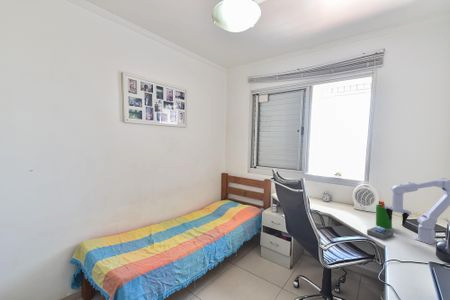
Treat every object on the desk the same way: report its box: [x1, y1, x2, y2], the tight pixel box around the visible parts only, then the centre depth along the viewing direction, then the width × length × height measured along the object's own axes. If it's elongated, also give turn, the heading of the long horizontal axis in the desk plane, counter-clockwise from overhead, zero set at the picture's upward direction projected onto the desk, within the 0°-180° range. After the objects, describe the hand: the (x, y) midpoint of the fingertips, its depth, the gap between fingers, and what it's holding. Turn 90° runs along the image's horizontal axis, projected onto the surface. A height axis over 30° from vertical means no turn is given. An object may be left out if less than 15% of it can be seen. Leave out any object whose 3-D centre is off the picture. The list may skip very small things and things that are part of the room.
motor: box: [375, 200, 393, 229], centre depth 157 cm, size 10×9×20 cm
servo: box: [374, 226, 386, 233], centre depth 142 cm, size 7×4×6 cm, turn 117°
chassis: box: [366, 225, 395, 241], centre depth 142 cm, size 14×10×3 cm
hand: (397, 221), depth 140 cm, fingers open, 7 cm apart
